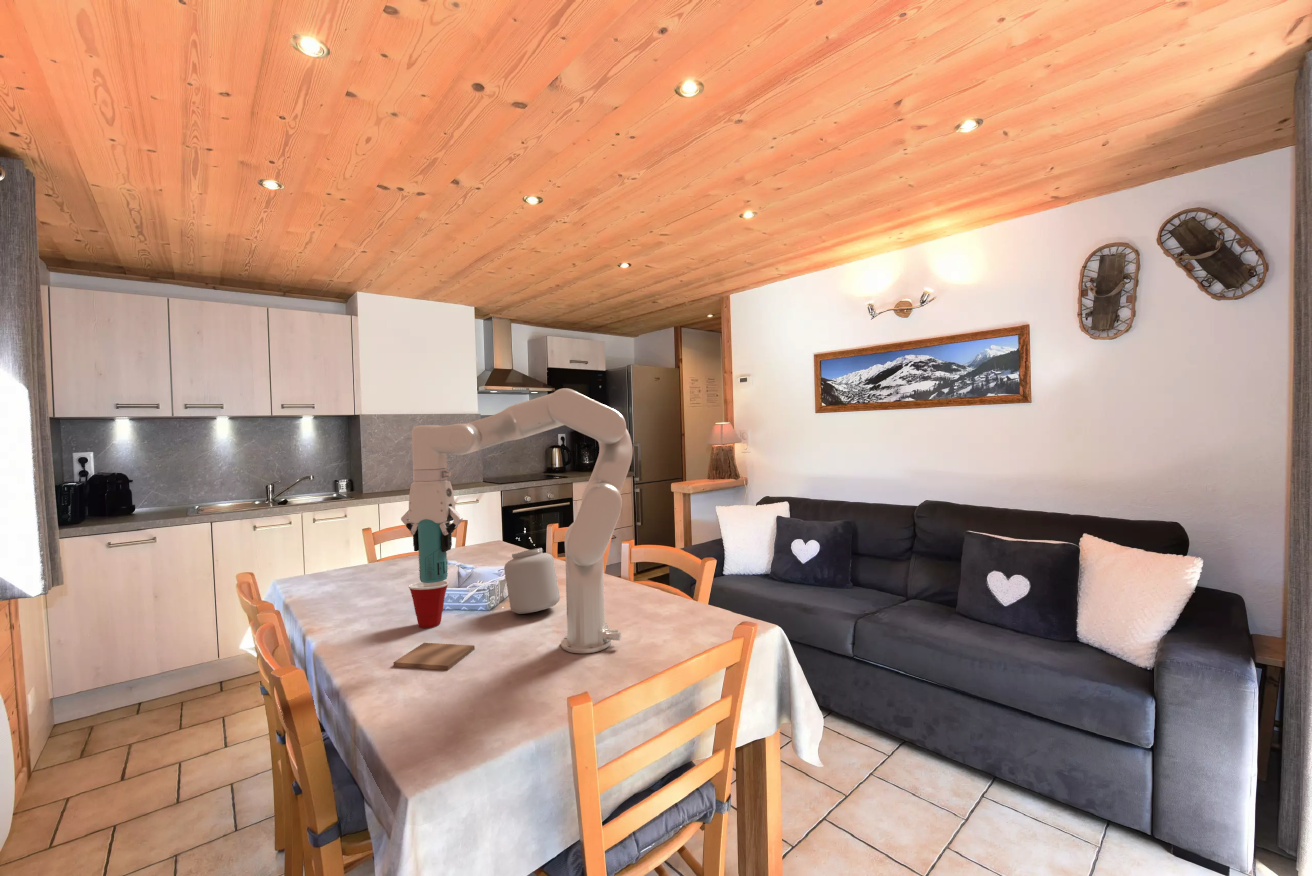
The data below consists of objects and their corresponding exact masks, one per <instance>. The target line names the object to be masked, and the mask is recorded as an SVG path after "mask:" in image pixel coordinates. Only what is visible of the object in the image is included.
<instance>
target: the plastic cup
mask: <svg viewBox="0 0 1312 876" xmlns="http://www.w3.org/2000/svg"><path fill="white" fill-rule="evenodd" d="M449 584H450V581H447V580H443V581H440V582H434V583H423V582H421V581H418V582H417V581H416V582H413V583H409V585H407V586H408V589H409V590H410V594H411V597H412V601H413V602H412V603H413V607H414V612H415V616H416V620H417V624H418V627H419V629H432V628H435V627H438V626H439V625H440V624H441V622H442V618H443V617H442V615H443V611H444V604H445V597H446V593H447V590H448V586H449Z"/></svg>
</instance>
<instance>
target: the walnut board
mask: <svg viewBox="0 0 1312 876" xmlns="http://www.w3.org/2000/svg"><path fill="white" fill-rule="evenodd" d="M473 651H475V645H472V644H471V645H470V644H451V643H436V642H434V643H433V642H423V643H421V644H419V645H418V646H417V647H415V648H413V649H412V650H411V651H409V652H407V653H406V654H404V655H402V656H401V657H399V658H398V659H396V660H395V661H393V667H394V666H397V668H411V669H426V670H441V671H449V670H450V669H451V668H453V667H454V666H456V665H457V664H458V663H459V662H460V661H462V660H463V659H464V658H466V657H467V656H469V654H471V653H472V652H473ZM465 656H466V657H465Z"/></svg>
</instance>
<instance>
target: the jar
mask: <svg viewBox="0 0 1312 876" xmlns="http://www.w3.org/2000/svg"><path fill="white" fill-rule="evenodd" d="M523 532H524V534H526V528H525V527H524V531H523ZM515 539H516V540H517V539H518V540H520V537H519V538H518V537H516V538H515ZM528 539H530V542H531V543H533V541H532V539H531V537H529V538H528ZM535 545H536V544H533V546H535ZM535 547H536V546H535ZM511 558H512V559H510V560H509V561H506V563H505V565H504V567H503V570H504V575H505V582H506V590H507V596H508V602H509V607H510V610H511V611H512V613H515V614H518V615H522V614H523V615H524V614H531V613H535V612H536V613H537V612H539V611H544V610H546V609H550V608H552V607H554V606H556V605H557V604H558V603H559V601H560V599H561V594H560V588H559V583H558V576H557V572H556V565H555V564H556V563H555V559H554V556H553V555H552V554H550V553H548V552H543V548H542V547H538V548H532V549H528V550H524V551H519V552H514V553H512V554H511ZM502 609H504V606H502Z"/></svg>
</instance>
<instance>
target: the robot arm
mask: <svg viewBox="0 0 1312 876" xmlns="http://www.w3.org/2000/svg"><path fill="white" fill-rule="evenodd" d="M562 426H566V427H568V428H570V429H572V430H574V431H576V432H578V433H580V434H582V435H585V436H587V437H589V438H592V439H594V440H595V441H597V442H598V447H599V451H598V452H599V453H598V456H597V459H596V462H595V465H594V467H593V470H592V472H591V475H590V477H589V480H588V482H587V485H586V486H585V488H584V490H583V492H582V495H581V504H580V508H579V509H578V512H577V514H576V516H575V520H574V521H573V522H572V523H571V524H570V525H569V526H568V527H567V529H566V531H565V535H564V552H565V554H564V555H565V590H566V591H565V593H566V629H567V631H566V632H567V633H566V634H567V635H565V636H564V637H563V638H562V639H561V641H560V643H561V648H562V649H563V650H564V651H566V652H569V653H574V654H591V653H597V652H600V651H603V650H606V649H607V648H609V647H610V645H611V644H612V641H616V642H617V641H618V642H620V641H621V640H622V632H619V629H611V628H609V623H606V621H605V620H606V619H605V574H604V573H605V572H604V570H605V569H604V555H605V553H606V551H607V549H608V546H609V544H610V541H611V539H612V536H613V534H614V531H615V529H616V526H617V523H618V521H619V518H620V516H621V513H622V508H623V499H622V495H621V492H622V490H623V488H624V484H625V481H626V478H627V475H628V473H629V469H630V466H631V464H632V460H633V453H634V452H633V444H632V443H633V442H632V438H631V435H630V433H629V431H628V429H627V423H626V419H625V416H624V415H623V414H622V413H620V411H618V410H616V409H614V408H612V407H610V406H608V405H606V404H603V403H601V402H599V401H597V400H595V399H592V398H590V397H588V396H586V395H584V394H582V393H580V392H578V391H577V390H574V389H572V388H567V387H566V388H559V389H556V390H555V391H554V392H551V393H548V394H546V395H542V396H538V397H535V398H534V399H533V398H532V399H529V400H526V401H522V402H519V403H515V404H513V405H510V406H508V407H506V408H505V409H504V410H502V411H499V412H497V413H495V414H492V415H490V416H486V417H483V418H479V419H477V420H473V421H470V422H466V423H455V424H449V425H438V424H437V425H436V424H435V425H434V424H433V425H432V424H430V425H429V424H425V425H424V424H423V425H416V426H414V427H413V428H412V430H411V444H412V445H411V446H412V473H413V474H412V475H413V477H412V478H413V482H411V485H410V487H409V489H410V490H409V496H408V510H407V511H406V512H405V513H404V514H403V515H402V516H401V517H400V520H401V522H402V523H403V524H404V525H405V527H406V529H408V531H409V532H410V535H412V540H413V541H412V542H413V543H412V546H413V552H419V551H418V550H419V539H418V522H420V521H421V520H424V519H429V520H432V521H434V522H435V523H437V524H439V526H440V528H441V530H442V532H443V535H441V551H442V552H446V553H447V552H448V551H450V550H451V549H452V546H453V543H452V542H453V540H452V539H453V538H452V534H453V533H454V531H455V530H456V529H457V528H458V526H459V525H460V524H461V522H463V519H464V518H463V516H462V515H460V513H459V512H458V511H456V504H455V503H456V502H455V497H454V496H455V495H454V490H453V486H452V483H451V481H450V480H448V478H450V477H452V472H451V471H449V470H448V468H447V467H448V465H447V455H455V456H462V455H467V454H471V453H474V452H478V451H481V450H483V449H487V448H489V447H494V446H496V445H499V444H503V443H506V442H510V441H517V440H522V439H524V438H525V439H526V438H527V437H531V436H533V435H534V436H535V435H538V434H540V433H543V432H546V431H550V430H553V429H556V428H560V427H562Z"/></svg>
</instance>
